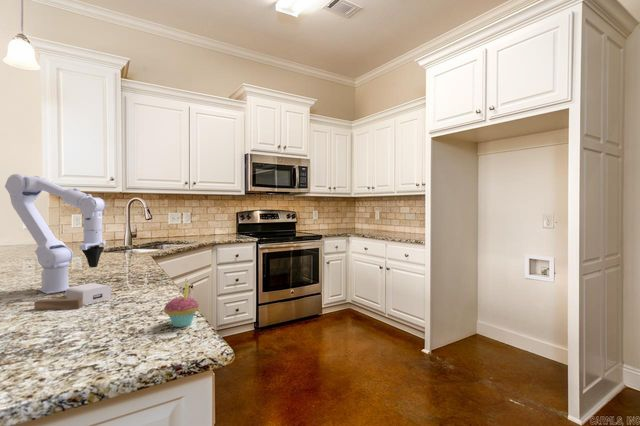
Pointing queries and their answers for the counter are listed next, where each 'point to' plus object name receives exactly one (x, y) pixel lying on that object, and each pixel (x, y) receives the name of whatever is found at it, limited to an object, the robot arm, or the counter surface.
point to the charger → (89, 292)
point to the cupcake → (181, 310)
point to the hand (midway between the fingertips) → (93, 266)
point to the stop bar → (58, 304)
